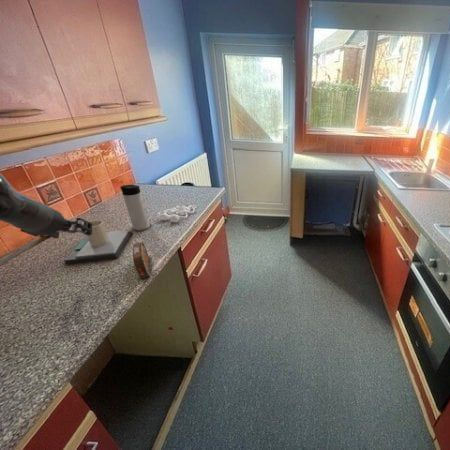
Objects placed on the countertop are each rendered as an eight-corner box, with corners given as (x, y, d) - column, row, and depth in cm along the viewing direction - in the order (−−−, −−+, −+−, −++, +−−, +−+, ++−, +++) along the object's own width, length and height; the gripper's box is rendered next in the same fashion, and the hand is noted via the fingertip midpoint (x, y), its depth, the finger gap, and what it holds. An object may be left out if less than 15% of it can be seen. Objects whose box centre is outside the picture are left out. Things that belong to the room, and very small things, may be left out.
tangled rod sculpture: (181, 207, 132) (179, 199, 131) (204, 209, 129) (203, 201, 127) (152, 221, 116) (150, 213, 114) (177, 224, 112) (175, 216, 110)
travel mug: (129, 230, 107) (115, 186, 97) (142, 224, 112) (130, 181, 103) (141, 233, 105) (127, 188, 96) (153, 226, 111) (142, 183, 101)
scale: (66, 265, 85) (63, 259, 83) (89, 238, 100) (87, 232, 98) (117, 259, 89) (114, 253, 87) (132, 235, 104) (130, 229, 102)
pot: (88, 247, 90) (79, 228, 86) (94, 239, 94) (87, 220, 91) (106, 245, 91) (99, 226, 87) (112, 237, 96) (105, 219, 92)
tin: (150, 281, 80) (144, 259, 76) (139, 284, 78) (132, 262, 74) (149, 256, 91) (143, 237, 87) (139, 259, 90) (132, 239, 86)
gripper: (69, 201, 66) (101, 220, 81) (1, 205, 62) (47, 224, 77) (67, 228, 64) (99, 243, 79) (-4, 234, 60) (44, 248, 75)
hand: (74, 233), depth 78 cm, fingers open, 8 cm apart
